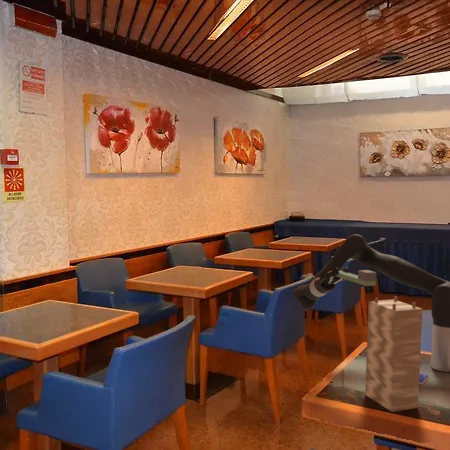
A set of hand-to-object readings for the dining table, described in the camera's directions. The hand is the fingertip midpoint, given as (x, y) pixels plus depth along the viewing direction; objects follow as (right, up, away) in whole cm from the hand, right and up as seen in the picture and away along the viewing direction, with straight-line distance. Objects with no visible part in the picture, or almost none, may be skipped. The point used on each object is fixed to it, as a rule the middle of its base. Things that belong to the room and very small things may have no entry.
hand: (343, 270), depth 196 cm
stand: (+10, -41, -26) cm, 49 cm away
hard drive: (+23, -40, -4) cm, 47 cm away
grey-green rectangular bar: (+2, -3, -6) cm, 7 cm away
